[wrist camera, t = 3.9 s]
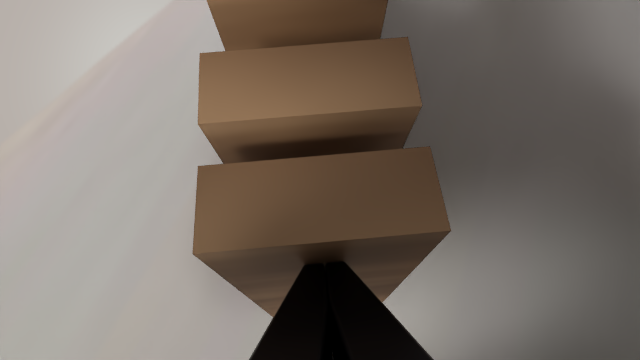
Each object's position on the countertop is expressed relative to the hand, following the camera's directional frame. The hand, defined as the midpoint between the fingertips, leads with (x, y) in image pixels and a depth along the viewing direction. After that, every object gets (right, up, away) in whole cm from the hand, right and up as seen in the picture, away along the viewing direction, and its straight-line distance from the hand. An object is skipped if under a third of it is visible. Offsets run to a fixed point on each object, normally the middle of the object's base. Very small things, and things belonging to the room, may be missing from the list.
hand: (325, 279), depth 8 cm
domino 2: (0, +1, +9) cm, 9 cm away
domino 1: (0, -3, +8) cm, 8 cm away
